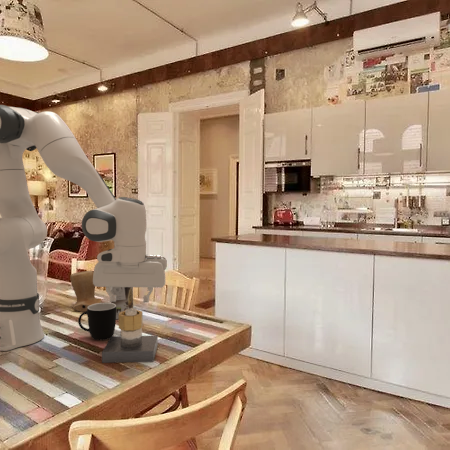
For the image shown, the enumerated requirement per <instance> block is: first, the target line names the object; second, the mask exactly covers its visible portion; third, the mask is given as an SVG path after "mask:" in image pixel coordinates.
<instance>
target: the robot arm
mask: <svg viewBox="0 0 450 450" xmlns="http://www.w3.org/2000/svg"><path fill="white" fill-rule="evenodd" d="M35 150H37V151H38V154H39V155H40V157H41V159H42V161H43V162H44V164H45V166H46V167H47V168H48V169H49V170H50V171H51V173H52V174H53V175H55V176H56V177H59V178H61V179H64V180H67V181H68V182H71V183H73V184H75V185H76V186H79V187H80V188H81V189H83V190H84V191H85V193H87V195H88V197H89V198H90V199H91V201H92V202H93V203H94V206H96V208H94V209H90V210H89V211H87V212H86V213H85V214H84V215H83V216H82V220H81V230H82V233H83V234H84V236H85V237H86V238H87V239H88V240H89V241H92V242H96V243H102V242H108V241H113V245H114V247H113V248H110V249H108V250H103V251H101V252H99V253H98V254H97V257H96V259H97V263H96V264H95V266H94V269H93V272H94V273H93V284H94V285H95V288H101V287H102V288H105V292H106V293H107V294H108V296H109V303H111V302H116V295H113V293H112V291H111V289H112V287H133V288H147V294H144V295H143V301H142V303H145V304H146V303H149V302H150V296H151V295H152V292H153V291H154V288H156V289H157V288H164V286H165V285H166V272H165V270H166V269H167V267H168V266H167V265H168V264H167V259H166V257H165V256H162V255H161V254H157V255H154V254H147V241H146V232H147V213H146V205H145V204H144V202H143V201H142V200H140V199H137V198H133V197H128V196H127V197H126V196H120V197H117V198H116V196H115V195H114V193H113V192H112V190H111V189H110V188H109V186H108V185H107V183H106V181H105V180H104V179H103V177H102V176H101V174H100V173H99V172H98V171H97V169H96V168H95V166H94V165H93V164H92V163H91V160H90V159H89V158H88V156H87V154H85V152H84V149H83V148H82V147H81V145H80V143H79V141H78V140H77V138H76V136H75V135H74V133H73V132H72V130H71V129H70V128H69V126H68V125H67V123H66V122H65V121H64V119H62V118H61V116H60V115H59V114H58V113H56V112H54V111H49V110H48V111H46V110H45V111H41V112H38V111H32V110H30V109H27V108H23V107H15V106H7V105H4V104H0V352H1V351H2V352H3V351H4V352H6V351H7V352H8V351H11V350H14V349H16V348H21V347H25V346H28V345H29V346H30V345H32V344H35V343H37V342H39V341H41V340H43V339H44V337H45V333H44V331H43V327H42V323H41V318H40V313H39V312H40V306H41V303H40V302H41V301H40V294H39V292H38V272H37V268H36V267H35V266H34V265H33V264H32V262H31V259H30V256H29V250H30V249H31V250H32V249H34V248H36V247H37V246H39V245H41V244H42V243H43V242H44V241H45V239H46V238H47V235H48V227H47V224H46V223H45V222H44V220H42V219H41V218H40V216H39V215H38V212H37V209H36V208H35V206H34V203H33V200H32V198H31V195H30V192H29V187H28V181H27V176H26V175H27V174H26V171H25V170H26V169H25V164H24V161H23V155H24V152H25V151H29V152H33V151H35Z"/></svg>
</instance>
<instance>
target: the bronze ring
mask: <svg viewBox="0 0 450 450" xmlns="http://www.w3.org/2000/svg"><path fill="white" fill-rule="evenodd" d="M143 313H144V312H143V311H142V310H138V309H137V315H133V316H125V311H122V312H120V313H119V319H118V329H119V330H121V329H122V330H137V329H140V328H142V327H143V317H144V316H143ZM142 329H143V328H142Z"/></svg>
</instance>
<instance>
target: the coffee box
mask: <svg viewBox="0 0 450 450" xmlns="http://www.w3.org/2000/svg"><path fill="white" fill-rule="evenodd" d="M111 291H112V293H113V295H116V302H110V303H113V304H115V305H116V320H119V313H120V312H122V311H125V310H126V309H128V308H134V287H112V289H111Z"/></svg>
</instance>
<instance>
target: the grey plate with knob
mask: <svg viewBox="0 0 450 450" xmlns="http://www.w3.org/2000/svg"><path fill="white" fill-rule="evenodd" d="M137 310H138V309H137V308H135V307H133V308H128V309H126V310H125V316H133V315H137ZM158 337H159V335H143V328H140V329H137V330H122V329H120V336H119V335H118V336H117V335H115V336H114V335H113V336H111V338H110V339H108V341H107V343H106V344H105V346H104V348H103V350H102V351H101V363H102V364H104V363H105V364H106V363H107V364H109V363H111V364H113V363H114V364H115V363H144V362H146V363H149V362H150V363H151V362H152V363H153V362H154V361H155V357H156V353H157V350H158V345H159V344H158V343H159V341H158Z"/></svg>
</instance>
